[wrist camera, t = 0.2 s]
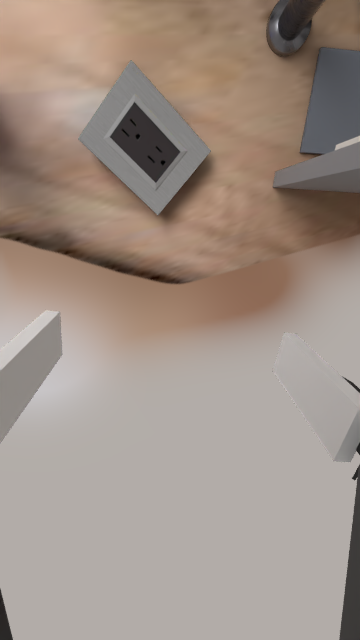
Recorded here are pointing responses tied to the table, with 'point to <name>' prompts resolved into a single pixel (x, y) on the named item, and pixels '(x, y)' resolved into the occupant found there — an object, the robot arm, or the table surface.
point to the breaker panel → (325, 171)
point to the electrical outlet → (144, 140)
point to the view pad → (333, 101)
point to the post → (290, 25)
